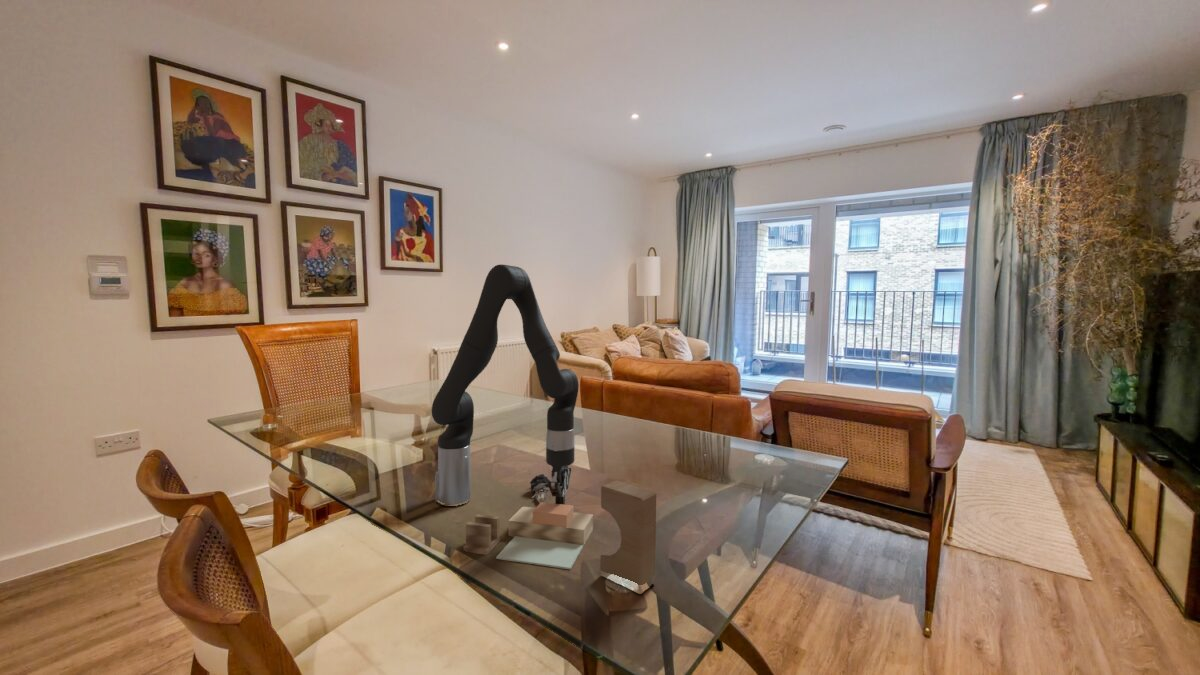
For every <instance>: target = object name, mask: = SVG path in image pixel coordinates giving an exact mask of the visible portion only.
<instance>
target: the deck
mask: <svg viewBox="0 0 1200 675" xmlns="http://www.w3.org/2000/svg"><path fill="white" fill-rule="evenodd" d="M535 508H536V507H530V506H521V508H520V509H518V510H517V511H516V513H514V515H512V517H511V518H509V519H508V536H509V537H513V538H514V537H515V536H518V537H525V538H533V539H541V540H548V541H556V542H563V543H571V544H579V545H583V547H584V546H585V544H586V543H587V541H588V539H589V538H590V535H591V533H592V532H593V530H594V514H592V513H584V512H576V511H575V512H574V517H573V519H572V520H571V521H570V523H569V524H568V526H567V527H562V526H553V525H545V524H537V523H533V510H534V509H535Z"/></svg>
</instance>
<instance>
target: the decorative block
mask: <svg viewBox="0 0 1200 675" xmlns="http://www.w3.org/2000/svg"><path fill="white" fill-rule="evenodd" d="M600 492H601V493H600V494H601V495H600V507H601V509H602V510H604V511H606V512H608V513H609V514H610V515H611V517H612V518H613V520H615V522H616V524H617V526H618V528H619V531H620V537H621V538H620V539H621V540H620V545H619V546H616V545H615V546H614V547H612V548H610V549H609V550H607V551H605V552H604V553H602V554H601V555H600V563H599V564H600V566H599V567H600V570H601V571H603V572H606V573H610V574H614V575H617V576H619V577H622V578H625V579H628V580H630V581H633V582H635V583H637V584H638V585H643V584H645V583H646V582H648V581H649V580H650V579H651V578H652V577H653V576H654V575H655V576H656V543H657V542H656V540H657V539H656V538H657V537H656V536H657V535H656V533H657V532H656V530H657V493H656V491H653V490H650V489H647V488H644V487H640V486H638V485H633V484H630V483H627V482H624V481H620V480H617V479H616V480H613V481H611V482H608V483H607V484H604V485H602V486H601V487H600Z"/></svg>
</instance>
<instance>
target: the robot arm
mask: <svg viewBox="0 0 1200 675" xmlns="http://www.w3.org/2000/svg"><path fill="white" fill-rule="evenodd" d="M506 300H511V301H512V302H513V303H514V305H515V306H516V307H517V309H518V311H519V314H520V316H521V321H522V332H523V338H524V342H525V345H526V347H527V349H528V351H529V353H530V356H531V357H532V359H533V361H534V363H535V368H536V373H537V377H538V381H539V385H540V388H541V389H542V392H544V394H545V395H546V396H548V397H549V398H551V399H554V400H553V404H552V405H550V407H549V408H548V409H547V414H546V425H547V426H546V436H545V462H546V464H547V465H549V466H551V467H552V468H551V469H552V470H551V472H550V477H551V480H550V481H549V483H548V486H549V492H550V494H551V496H552V497H555V503H554V504H563V505H566V495H567V491H568V489H569V484H570V478H571V475H572V474H571V473H572V468H571V467H569V466H570V465H572V464H574V462H575V448H576V446H575V441H576V440H575V429H574V428H575V427H574V425H575V424H574V422H575V420H574V418H575V414H574V411H575V408H576V404H577V400H578V398H577V397H578V393H579V386H580V385H579V379H578V376H577V374H576V373H575V372H574V371H573V370H571V369H569V368H561V369H560V368H559V366H558V360H559V359H560V357H561V354H560V351H559V350H560V349H559V348H558V347H557V343H555V341H554V339H553V336H552V335H551V333H550V330H549V329H548V327H547V325H546V321H545V319H544V317H543V315H542V312H541V308H540V306H539V304H538V300H537V297H536V294H535V291H534V287H533V285H532V282H531V278H530V277H529V275H528V273H527V271H526V270H524V269H523V268H522V267H519V266H515V265H508V264H497V265H494V266H493V267H492V268H491V269H490V270H489V271H488V274H487V275H486V277H485V280H484V284H483V286H482V290H481V294H480V296H479V300H478V303H477V306H476V308H475V311H474V313H473V316H472V318H471V322H470V324H469V326H468V329H467V330H466V333H465V335H464V336H463V339H462V342H461V344H460V346H459V348H458V351H457V354H456V355H455V356H456V357H455V359H454V361H453V363H452V364H451V367H450V370H449V371H448V374H447V376H446V378H445V379H444V381H443V383H442V384H441V387H440V388H439V390H438V391H437V393H436V395H435V397H434V399H433V401H432V405H431V416H432V419H433V421H434V422H435V423H436V424H438V425H440V426H447V427H446V429H445V430H444V432H442V433H441V434H440V435H439V436H438V439H437V440H438V441H437V459H438V460H437V461H438V462H437V463H438V465H437V466H438V468H437V469H438V470H437V471H435V478H434V480H435V500H436V499H437V500H439V501H440V502H442V503H445V504H449V505H453V504H454V505H455V504H459V503H463V502H465V501H467V500H469V499H470V500H471V495H472V494H471V439H472V437H473V432H474V416H475V415H474V414H475V408H474V402H473V401H474V400H473V399H472V398H473V397H472V396H471V395H470V393H468V392H467V391H466V390H467V388H468V387H469V386H470V385H471V383H472V382H474V380H475V379H477V377H478V376H479V375H480V374H481V373H483V371H484V370H485V369H486V368H487V366H488V365H489V363H490V361H491V359H492V357H493V355H494V353H495V350H496V349H497V345H498V340H499V334H498V331H499V330H498V320H499V319H498V318H499V316H500V313H501V311H502V308H503V306H504V305H505V302H506Z"/></svg>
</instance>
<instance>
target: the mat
mask: <svg viewBox="0 0 1200 675" xmlns="http://www.w3.org/2000/svg"><path fill="white" fill-rule="evenodd" d="M583 548H584V546H583V545H579V544H571V543H563V542H556V541H548V540H541V539H533V538H525V537H518V536H515V537H514V536H513V538H512V539H511V540H510V541H509V542H508V544H506V546H504V548H503V549H502V550H501V551H500V553H499V554H497V556H496V558H495V559H497V560H502V561H509V562H515V563H516V562H517V563H522V564H530V565H536V566H537V565H538V566H542V567H543V566H544V567H550V568H556V569H565V570H571V569H572V568H573V566H574V564H575V562H576V560H577V559H578V557H579V555H580V553H581V551H582V550H583Z"/></svg>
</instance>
